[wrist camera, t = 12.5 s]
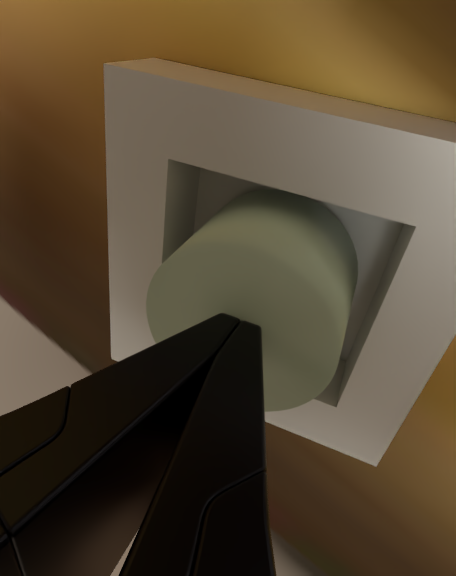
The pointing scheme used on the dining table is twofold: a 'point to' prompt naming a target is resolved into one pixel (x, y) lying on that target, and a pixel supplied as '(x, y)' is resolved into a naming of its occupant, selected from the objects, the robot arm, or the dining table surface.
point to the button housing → (304, 181)
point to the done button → (266, 287)
